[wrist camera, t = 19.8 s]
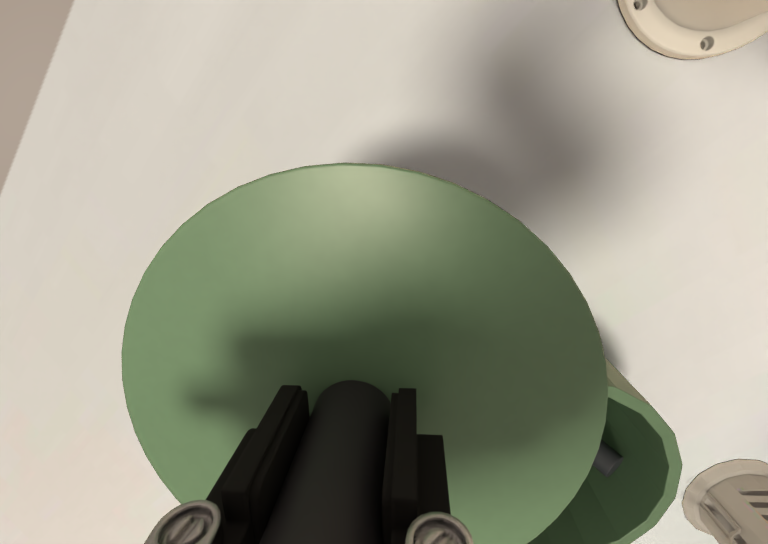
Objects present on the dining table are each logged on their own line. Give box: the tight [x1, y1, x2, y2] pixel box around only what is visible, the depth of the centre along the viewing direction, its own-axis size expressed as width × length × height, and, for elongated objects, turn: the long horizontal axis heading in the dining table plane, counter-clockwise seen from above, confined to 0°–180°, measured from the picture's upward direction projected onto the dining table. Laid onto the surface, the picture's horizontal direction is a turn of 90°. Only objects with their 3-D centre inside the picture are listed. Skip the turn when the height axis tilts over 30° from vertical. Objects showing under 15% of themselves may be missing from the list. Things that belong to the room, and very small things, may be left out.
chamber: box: [527, 358, 682, 544], centre depth 31 cm, size 15×20×12 cm
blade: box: [592, 439, 624, 477], centre depth 32 cm, size 6×6×8 cm
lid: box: [122, 163, 608, 544], centre depth 10 cm, size 16×16×7 cm
